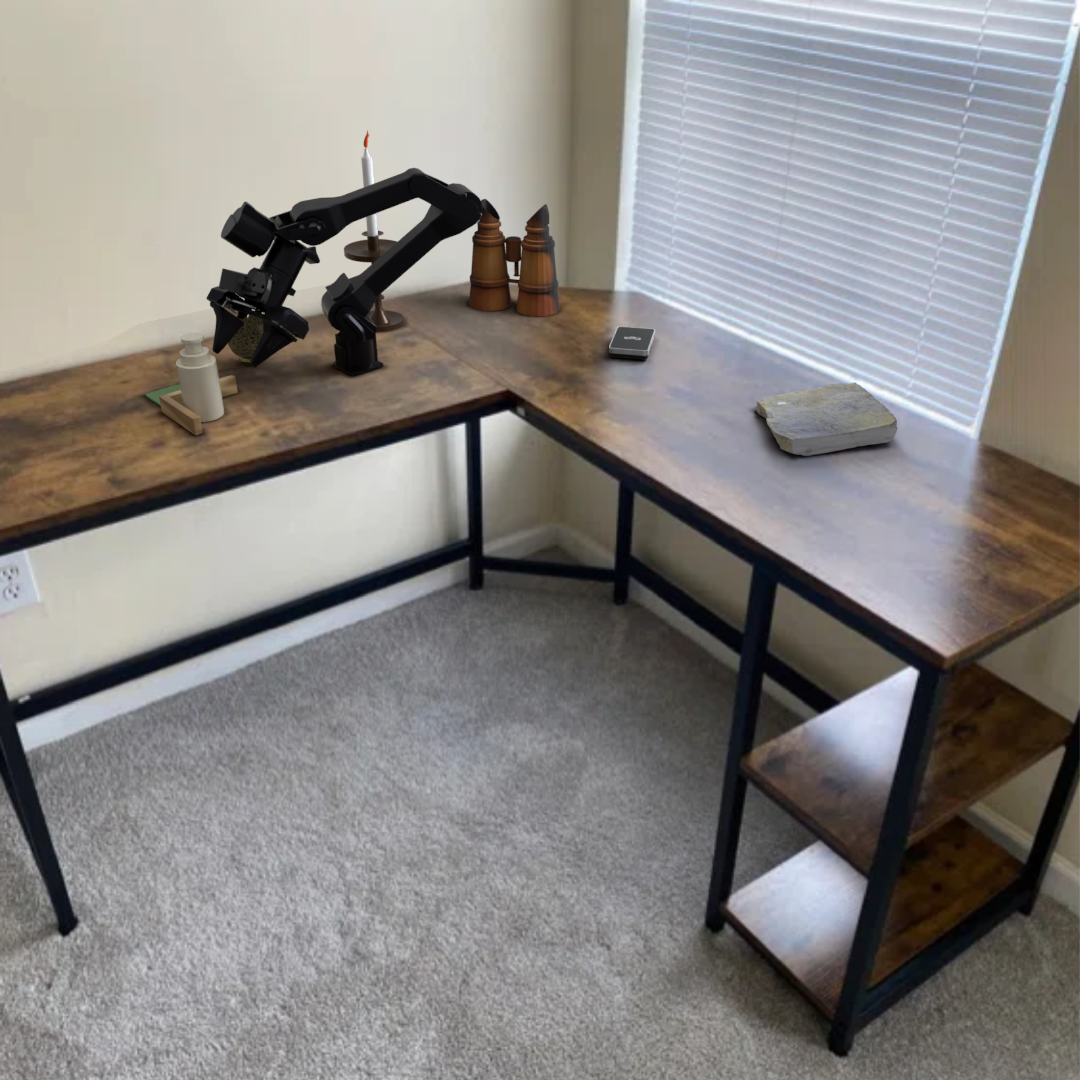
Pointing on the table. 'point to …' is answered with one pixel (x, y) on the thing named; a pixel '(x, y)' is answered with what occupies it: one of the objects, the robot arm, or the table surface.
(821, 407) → the grey stone slab
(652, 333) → the external hard drive
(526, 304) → the binoculars
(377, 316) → the candlestick
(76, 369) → the table surface
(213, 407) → the lidded jar
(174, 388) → the green cloth
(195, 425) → the corner rails
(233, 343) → the cup
